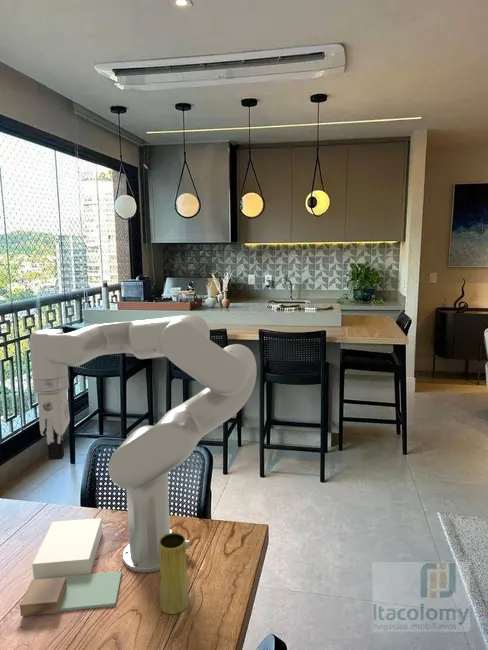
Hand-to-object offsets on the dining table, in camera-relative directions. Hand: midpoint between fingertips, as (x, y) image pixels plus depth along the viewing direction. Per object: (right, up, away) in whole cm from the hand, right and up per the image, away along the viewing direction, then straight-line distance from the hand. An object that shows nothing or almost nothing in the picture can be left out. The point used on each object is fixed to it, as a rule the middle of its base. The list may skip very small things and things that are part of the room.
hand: (56, 457), depth 109 cm
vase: (+30, -26, -14) cm, 42 cm away
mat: (+9, -26, -11) cm, 29 cm away
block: (+3, -23, -15) cm, 27 cm away
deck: (+3, -24, +1) cm, 24 cm away
